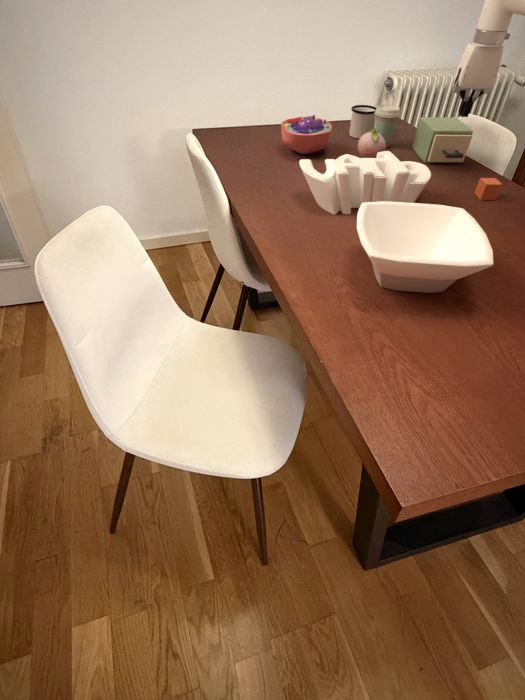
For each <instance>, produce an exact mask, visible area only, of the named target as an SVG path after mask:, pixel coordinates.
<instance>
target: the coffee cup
mask: <svg viewBox="0 0 525 700" xmlns="http://www.w3.org/2000/svg"><path fill="white" fill-rule="evenodd" d="M376 108H377V109H376V110H375V119H374V125H373V130H375V129H376V130H377V131H378V133H380V134H381V136H382V137H383V138H384V140H385V149H387V148H389V147H390V145H391V142H392V139H393V136H394V132H395V129H396V127H397V123H398V120H399V117H400V116H401V107H400V106H399V105H394V104H379V105H377V106H376Z"/></svg>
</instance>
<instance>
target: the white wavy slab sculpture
mask: <svg viewBox="0 0 525 700" xmlns="http://www.w3.org/2000/svg"><path fill="white" fill-rule="evenodd" d="M324 164H325V168H326V169H325V172H324V173H321V172H318V170H316V169H315V168H314V165H313V162H312V160H311V159H310V158H309V159H307V158H303V159H300V160H299V167H300V168H301V169H300V170H301V172H302V173H303V176H304V179H305V180H306V183H307V186H308V187H309V189H310V192H311V194H312V196H313V199H314V201H315V202H316V204H317V205H318V206H319V207H320V208H321V209H323V210H324V211H326V212H327V213H329V214H331V215H336V214H338V213H339V212H341V214H342V215H351V214H352V209H353V208H355V209H356V208H357V209H359V208H360V206H361V204H362V203H364V202H381V201H387V202H406V203H416V201H417V199H418V198H419V196H420V194H421V193H422V192H423V190H424V188H425V187H426V185H427V184H428V182H429V181H430V179H431V177H432V172H431V170H430V169H429V167H428V166H427V165H426V164H424V163H420V162H417V161H413V160H412V161H411V160H403V161H402V160H400V159H399V158H398V157H397V156H396V155H395V154H394V153H393V152H391V151H390V150H384V151H382V152H378V153H377V157H376V158H363V157H358V156H356V155H352V154H349V153H346V154H342V155H340V156H338V157H337V158H336V159H335V158H326V159H324Z"/></svg>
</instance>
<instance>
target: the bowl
mask: <svg viewBox="0 0 525 700" xmlns="http://www.w3.org/2000/svg"><path fill="white" fill-rule="evenodd" d="M356 230H357V231H356V232H357V234H358V238H359V241H360V244H361V246H362V248H363V250H364V251H365V253H366V255H367V256H368V258H369V259H370V261H371V265H372V270H373V274H374V277H375V280H376V281H377V283H378V284H379V286H380V287H381V288H382V289H388V290H392V291H401V292H412V293H425V294H426V293H427V294H433V293H443V292H444V291H445V290H447V289H448V288H449V287H451V285H453V284H454V283H455V282H457V280H460V279H462V278H465V277H467V276H470V275H473V274H476V273H478V272H480V271H483V270H485V269H488V268H491V267H493V265H494V249H493V248H492V245H491V243H490V241H489V238H488V235H487V233H486V232H485V231H484V229H483V227H481V226H480V224H479V223H478V221H477V220H476V219H475V217H473V216H472V215H471V214H470V213H469V212H468V211H467V210H465V208H462V207H457V206H450V205H443V204H437V203H436V204H433V203H419V202H414V203H406V202H387V201H381V202H364V203H362V204H361V206H360V208H358V211H357V215H356Z"/></svg>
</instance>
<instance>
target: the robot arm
mask: <svg viewBox="0 0 525 700" xmlns="http://www.w3.org/2000/svg"><path fill="white" fill-rule="evenodd" d="M514 14H515V15H519V16H524V17H525V0H484V3H483V6H482V9H481V13H480V16H479V19H478V22H477V25H476V29H475V31H474V35H473V38H472V41H471V43H468V44H467V45H466V48H465V50H464V52H463V55H462V57H461V59H460V61H459V64H458V66H457V69H456V72H455V75H454V78H453V82H452V83H453V87H452V92H453V93H455V94H458V95H459V97H460V99H461V102H460V105H459V107H458V115H459V116H460V117H461V118H468V117H469V115H470V113H471V111H472V108H473V107H474V103H476V102H477V100H478V98H480V97H481V96H483V95H487V94H490V93H491V91H492V88H493V86H494V84H495V82H496V79H497V76H498V73H499V70H500V66H501V62H502V58H503V57H502V56H503V53H504V45H503V44H504V42H505V41H508V40H509V39H510V37H511V33H508V29H509V26H510V23H511V21H512V18H513V15H514Z"/></svg>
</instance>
